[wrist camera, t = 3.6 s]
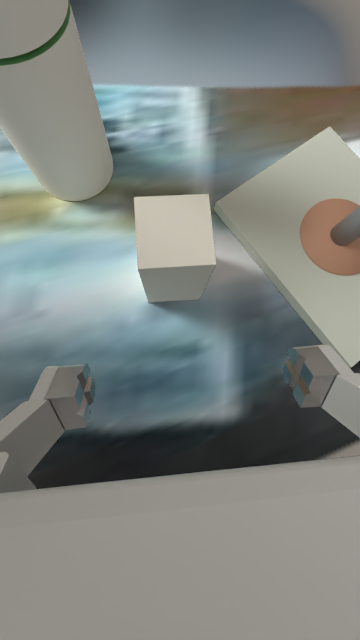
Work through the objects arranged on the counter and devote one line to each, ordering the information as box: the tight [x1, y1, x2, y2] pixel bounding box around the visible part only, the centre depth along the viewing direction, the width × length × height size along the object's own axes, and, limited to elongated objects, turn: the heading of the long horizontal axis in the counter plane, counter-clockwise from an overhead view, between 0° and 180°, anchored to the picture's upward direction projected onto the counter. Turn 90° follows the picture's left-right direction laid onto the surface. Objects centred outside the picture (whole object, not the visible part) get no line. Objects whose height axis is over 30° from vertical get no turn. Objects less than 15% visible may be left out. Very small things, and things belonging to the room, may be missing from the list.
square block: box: [134, 194, 216, 303], centre depth 18 cm, size 4×4×8 cm
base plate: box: [214, 127, 360, 367], centre depth 21 cm, size 18×14×6 cm
